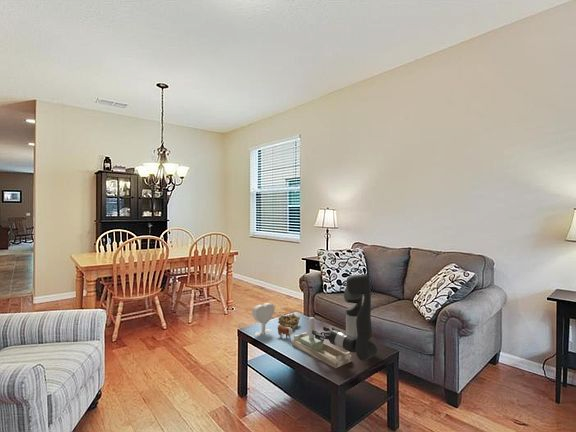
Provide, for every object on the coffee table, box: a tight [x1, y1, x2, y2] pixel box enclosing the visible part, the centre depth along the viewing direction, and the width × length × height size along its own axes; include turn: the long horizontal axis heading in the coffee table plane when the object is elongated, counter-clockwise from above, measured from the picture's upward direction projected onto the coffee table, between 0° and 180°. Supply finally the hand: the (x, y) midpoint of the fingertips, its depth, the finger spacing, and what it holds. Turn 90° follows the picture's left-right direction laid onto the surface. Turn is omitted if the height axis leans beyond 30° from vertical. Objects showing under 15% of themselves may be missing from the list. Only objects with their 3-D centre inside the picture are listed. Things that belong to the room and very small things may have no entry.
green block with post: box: [300, 316, 324, 351], centre depth 180 cm, size 8×10×17 cm
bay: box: [291, 331, 353, 369], centre depth 175 cm, size 12×34×6 cm, turn 39°
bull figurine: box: [277, 324, 295, 339], centre depth 196 cm, size 4×13×8 cm, turn 41°
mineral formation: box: [278, 313, 301, 330], centre depth 217 cm, size 8×13×15 cm
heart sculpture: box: [251, 302, 275, 336], centre depth 206 cm, size 16×5×18 cm, turn 132°
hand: (318, 329), depth 176 cm, fingers open, 8 cm apart
